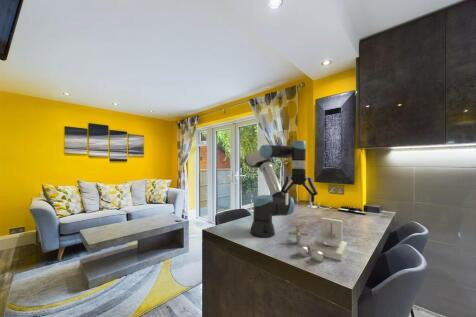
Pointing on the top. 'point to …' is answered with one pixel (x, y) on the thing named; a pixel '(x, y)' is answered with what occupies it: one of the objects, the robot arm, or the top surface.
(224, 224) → the top surface
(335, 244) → the pan
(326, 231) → the scale base
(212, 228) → the top surface
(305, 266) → the top surface
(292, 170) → the robot arm
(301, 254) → the cylinder
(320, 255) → the cylinder
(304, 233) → the cream toy jack
